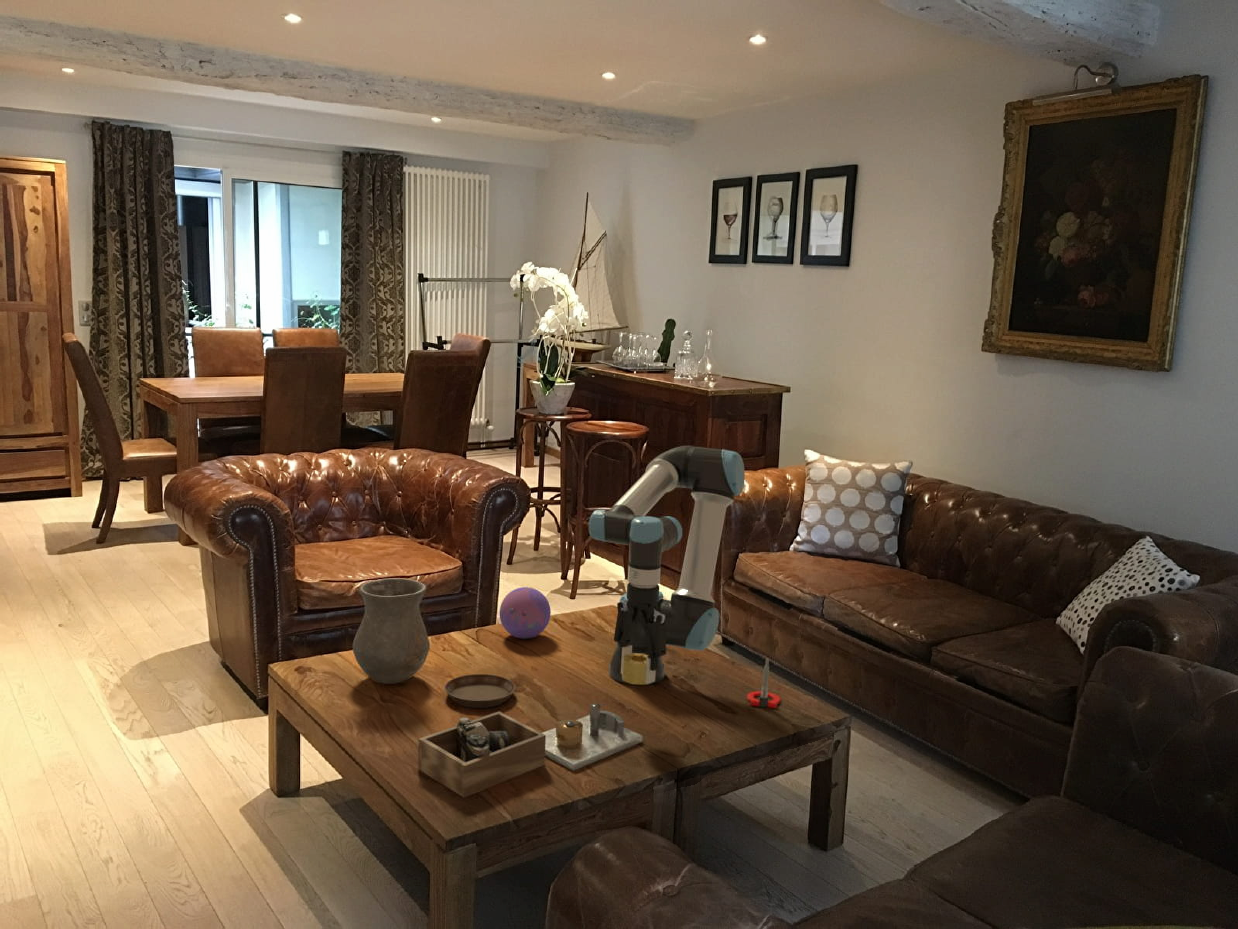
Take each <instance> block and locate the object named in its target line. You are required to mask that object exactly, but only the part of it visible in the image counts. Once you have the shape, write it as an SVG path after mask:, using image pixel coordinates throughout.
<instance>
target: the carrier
mask: <svg viewBox="0 0 1238 929" xmlns="http://www.w3.org/2000/svg"><path fill="white" fill-rule="evenodd" d="M589 709H590V711H589V714H588V715H586V716H583V717H580V718H578V719H561V720H558V721H557V722H556V723H555V727H554V728H551V729H549V730H546V731H543V732H542V733H543V734H544V735H546V743H545V758H549V759H550V760H552V761H554V762H556V763H558V764H560V765H562V766H563V767H565V768H567V769H569V770H571V771H576V770H579V769H581V768H583V767H585V766H588V765H590V764H593V763H595V762H598V761H600V760H602V759H605V758H607V757H609V756H611V755H614V754H616V753H617V754H618V753H619V752H621V751H624V750H626V749H628V748H631V747H633V746H635V745H637V744H640V743H642V742H643V735H642V734H641V733H640V734H639V733H637V732H635V731H634V730H631V729H628V728H627V727H625V722H624V720H623V719H622V717H621V716H620V715H618V714H616V713H614V712H611V711H608V710H603V709H601V705H600V704H599V703H591V704H590V708H589Z"/></svg>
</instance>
